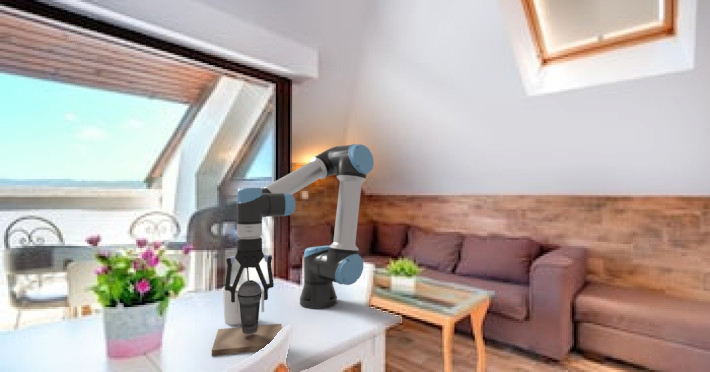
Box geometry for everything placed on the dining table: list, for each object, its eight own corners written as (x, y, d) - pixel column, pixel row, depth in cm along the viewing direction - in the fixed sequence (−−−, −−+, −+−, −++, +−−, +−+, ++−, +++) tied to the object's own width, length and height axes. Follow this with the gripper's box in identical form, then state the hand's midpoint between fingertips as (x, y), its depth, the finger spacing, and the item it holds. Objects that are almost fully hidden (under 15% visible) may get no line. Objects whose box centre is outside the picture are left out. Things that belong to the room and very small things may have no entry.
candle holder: (242, 326, 125) (242, 291, 125) (216, 324, 127) (216, 289, 127) (256, 316, 135) (256, 284, 135) (231, 315, 137) (231, 282, 137)
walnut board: (281, 328, 124) (281, 323, 124) (283, 348, 109) (283, 343, 109) (218, 333, 119) (218, 329, 119) (211, 355, 104) (211, 350, 104)
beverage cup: (248, 337, 109) (248, 269, 109) (232, 332, 113) (232, 267, 113) (266, 329, 115) (267, 265, 115) (250, 325, 119) (250, 263, 119)
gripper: (213, 240, 108) (213, 318, 108) (283, 237, 113) (283, 312, 113) (216, 236, 115) (216, 310, 115) (282, 234, 120) (282, 305, 120)
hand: (249, 311), depth 114 cm, fingers closed on beverage cup, 7 cm apart
